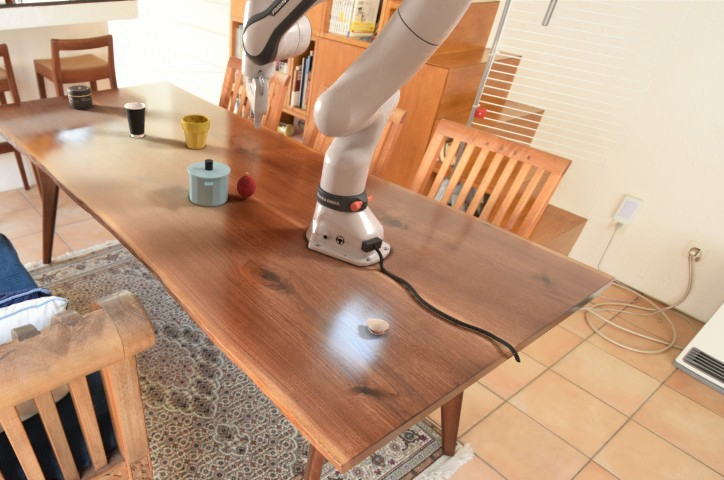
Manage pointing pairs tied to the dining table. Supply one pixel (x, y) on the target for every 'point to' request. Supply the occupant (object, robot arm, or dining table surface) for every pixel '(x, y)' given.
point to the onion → (246, 186)
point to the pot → (208, 191)
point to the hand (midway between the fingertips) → (255, 122)
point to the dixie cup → (136, 118)
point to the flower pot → (195, 130)
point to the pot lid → (208, 169)
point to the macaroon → (377, 326)
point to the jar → (80, 97)
